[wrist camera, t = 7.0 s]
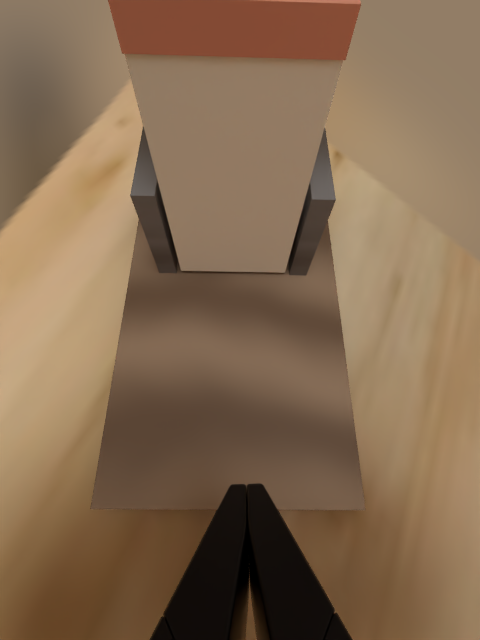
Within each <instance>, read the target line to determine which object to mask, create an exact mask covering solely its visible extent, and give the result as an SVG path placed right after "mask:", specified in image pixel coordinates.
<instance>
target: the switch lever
mask: <svg viewBox="0 0 480 640" xmlns="http://www.w3.org/2000/svg"><path fill="white" fill-rule="evenodd" d="M108 2H109V5H110V9H111V13H112V17H113V21H114V24H115V28H116V32H117V36H118V40H119V43H120V47H121V51H122V53H123V54H125V57H126V61H127V65H128V69H129V72H130V76H131V80H132V84H133V88H134V92H135V96H136V99H137V103H138V107H139V111H140V115H141V119H142V123H143V126H144V130H145V134H146V138H147V142H148V146H149V150H150V153H151V157H152V161H153V165H154V169H155V173H156V176H157V180H158V184H159V188H160V192H161V196H162V200H163V203H164V207H165V211H166V215H167V219H168V223H169V227H170V230H171V234H172V238H173V242H174V246H175V250H176V254H177V257H178V261H179V265H180V269H181V271H222V272H279V273H285V271H286V267H287V263H288V260H289V256H290V252H291V249H292V245H293V241H294V238H295V234H296V230H297V227H298V223H299V219H300V216H301V212H302V208H303V205H304V201H305V197H306V194H307V190H308V186H309V183H310V179H311V176H312V172H313V168H314V165H315V161H316V157H317V154H318V150H319V146H320V143H321V139H322V135H323V132H324V128H325V124H326V120H327V117H328V113H329V110H330V106H331V102H332V99H333V95H334V92H335V88H336V84H337V80H338V77H339V73H340V70H341V66H342V62H343V60H346V56H347V53H348V49H349V45H350V42H351V38H352V35H353V31H354V28H355V24H356V20H357V17H358V13H359V10H360V6H361V2H360V0H108Z"/></svg>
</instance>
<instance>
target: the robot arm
mask: <svg viewBox="0 0 480 640" xmlns="http://www.w3.org/2000/svg"><path fill="white" fill-rule="evenodd" d="M249 576H250V590H251V599H252V607H253V614H254V622H255V630H256V637H257V640H353V639H352V638H351V636H350V634H349V633H348V631H347V629H346V628H345V626H344V624H343V622H342V621H341V619H340V617H339V615H338V614H337V613H335V609H334V607H333V605H332V603H331V602H330V600H329V598H328V597H327V595H326V593H325V591H324V590H323V588H322V586H321V584H320V583H319V581H318V579H317V577H316V576H315V574H314V572H313V570H312V569H311V567H310V565H309V563H308V562H307V560H306V558H305V556H304V555H303V553H302V551H301V549H300V548H299V546H298V544H297V542H296V541H295V539H294V537H293V535H292V534H291V532H290V530H289V528H288V527H287V525H286V523H285V522H284V520H283V518H282V516H281V515H280V513H279V511H278V509H277V508H276V506H275V504H274V502H273V501H272V499H271V497H270V495H269V494H268V492H267V490H266V488H265V487H264V485H263V484H261V483H252V484H248V485H247V487H246V485H245V484H231V485H230V486H229V488H228V490H227V492H226V494H225V496H224V498H223V500H222V501H221V503H220V505H219V507H218V509H217V511H216V513H215V515H214V517H213V519H212V521H211V523H210V525H209V527H208V528H207V530H206V532H205V534H204V536H203V538H202V540H201V542H200V544H199V546H198V548H197V550H196V552H195V553H194V555H193V557H192V559H191V561H190V563H189V565H188V567H187V569H186V571H185V573H184V575H183V577H182V578H181V580H180V582H179V584H178V586H177V588H176V590H175V592H174V594H173V596H172V598H171V600H170V602H169V603H168V605H167V607H166V609H165V611H164V614H163V615H164V617H161V618H160V620H159V622H158V624H157V626H156V628H155V630H154V632H153V634H152V636H151V638H150V640H245V637H246V624H247V611H248V598H249Z"/></svg>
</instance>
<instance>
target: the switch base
mask: <svg viewBox="0 0 480 640" xmlns="http://www.w3.org/2000/svg"><path fill="white" fill-rule="evenodd" d="M130 196H131V199H132V201H133V204H134V207H135V209H136V212H137V215H138V217H139V222H138V228H137V234H136V240H135V246H134V252H133V258H132V264H131V270H130V276H129V282H128V288H127V294H126V300H125V306H124V312H123V318H122V324H121V330H120V336H119V342H118V348H117V354H116V360H115V366H114V372H113V377H112V383H111V389H110V395H109V401H108V407H107V413H106V419H105V425H104V431H103V437H102V443H101V449H100V455H99V461H98V467H97V473H96V479H95V485H94V491H93V497H92V503H91V509H179V510H217V509H218V507H219V505H220V503H221V501H222V500H223V498H224V496H225V494H226V492H227V490H228V488H229V486H230V485H231V484H245V485H246V487H247V485H248V484H252V483H261V484H263V485H264V487H265V488H266V490H267V492H268V494H269V495H270V497H271V499H272V501H273V502H274V504H275V506H276V508H277V509H278V510H365V502H364V495H363V487H362V479H361V472H360V464H359V456H358V449H357V441H356V433H355V426H354V418H353V410H352V403H351V395H350V387H349V380H348V372H347V364H346V357H345V349H344V342H343V334H342V326H341V319H340V311H339V303H338V296H337V288H336V280H335V273H334V265H333V257H332V250H331V242H330V234H329V227H328V218H329V216H330V213H331V211H332V208H333V206H334V203H335V200H336V199H335V192H334V185H333V178H332V172H331V165H330V158H329V151H328V145H327V138H326V131H325V128H324V132H323V135H322V139H321V143H320V146H319V150H318V154H317V157H316V161H315V165H314V168H313V172H312V176H311V179H310V183H309V186H308V190H307V194H306V197H305V201H304V205H303V208H302V212H301V216H300V219H299V223H298V227H297V230H296V234H295V238H294V241H293V245H292V249H291V252H290V256H289V260H288V263H287V267H286V271H285V273H279V272H222V271H181V269H180V265H179V261H178V257H177V254H176V250H175V246H174V242H173V238H172V234H171V230H170V227H169V223H168V219H167V215H166V211H165V207H164V203H163V200H162V196H161V192H160V188H159V184H158V180H157V176H156V173H155V169H154V165H153V161H152V157H151V153H150V150H149V146H148V142H147V138H146V134H145V130H144V126H143V131H142V136H141V141H140V147H139V152H138V157H137V163H136V168H135V173H134V179H133V184H132V189H131V194H130Z"/></svg>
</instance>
